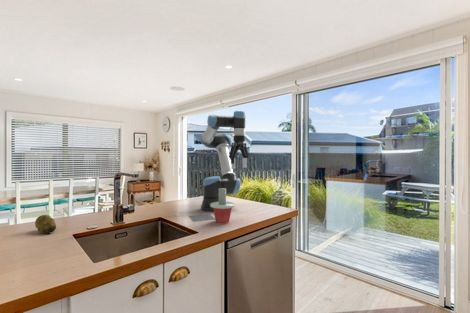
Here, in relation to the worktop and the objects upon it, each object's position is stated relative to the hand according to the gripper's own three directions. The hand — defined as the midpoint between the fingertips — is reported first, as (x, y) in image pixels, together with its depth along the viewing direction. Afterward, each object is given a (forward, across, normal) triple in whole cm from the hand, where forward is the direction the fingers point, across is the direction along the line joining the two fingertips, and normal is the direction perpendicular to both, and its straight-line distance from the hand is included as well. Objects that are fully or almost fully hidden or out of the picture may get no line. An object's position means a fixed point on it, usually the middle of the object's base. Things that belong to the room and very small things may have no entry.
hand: (239, 168), depth 162 cm
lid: (+21, +18, 0) cm, 28 cm away
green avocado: (+31, +84, -64) cm, 110 cm away
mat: (+31, +18, -15) cm, 39 cm away
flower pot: (+31, +18, 0) cm, 36 cm away
